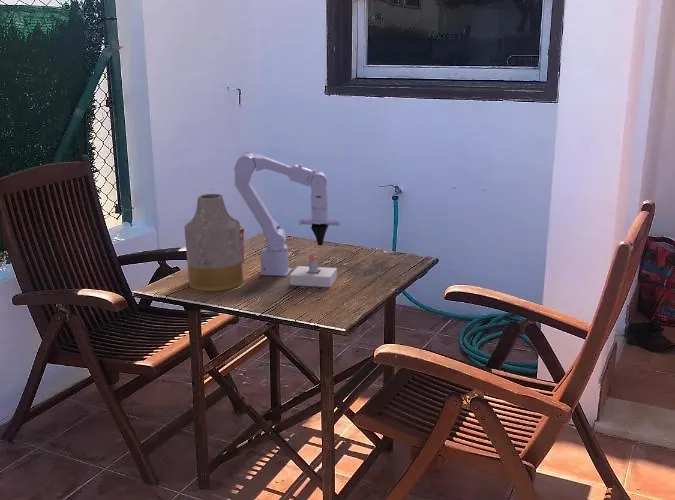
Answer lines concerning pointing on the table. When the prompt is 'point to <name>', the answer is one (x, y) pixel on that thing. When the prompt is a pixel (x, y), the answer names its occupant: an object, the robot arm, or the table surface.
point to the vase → (213, 247)
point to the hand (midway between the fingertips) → (320, 244)
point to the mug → (242, 241)
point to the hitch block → (313, 277)
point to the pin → (313, 264)
